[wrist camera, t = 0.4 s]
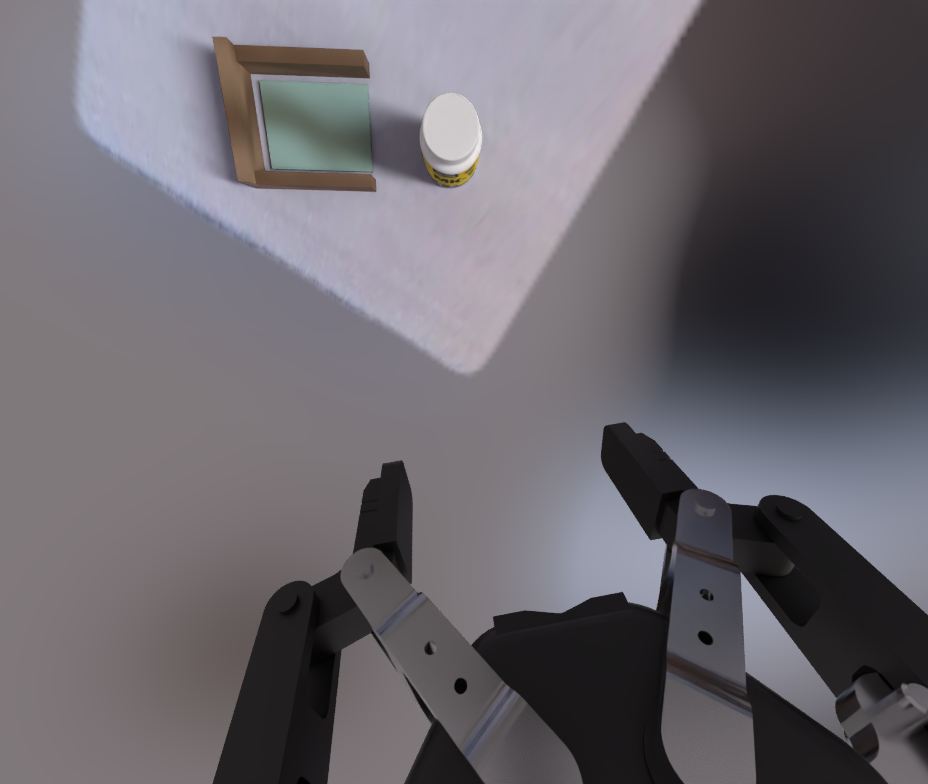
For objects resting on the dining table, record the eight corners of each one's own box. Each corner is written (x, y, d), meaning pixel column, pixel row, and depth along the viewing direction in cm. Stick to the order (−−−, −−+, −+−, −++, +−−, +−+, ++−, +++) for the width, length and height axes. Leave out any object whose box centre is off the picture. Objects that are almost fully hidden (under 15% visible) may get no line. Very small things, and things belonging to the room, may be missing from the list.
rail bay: (235, 58, 29) (212, 36, 26) (368, 63, 30) (359, 42, 27) (256, 188, 33) (237, 181, 30) (376, 191, 33) (368, 185, 30)
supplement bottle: (431, 194, 33) (424, 173, 25) (419, 135, 32) (407, 93, 24) (481, 182, 33) (490, 158, 25) (472, 123, 31) (478, 77, 23)
